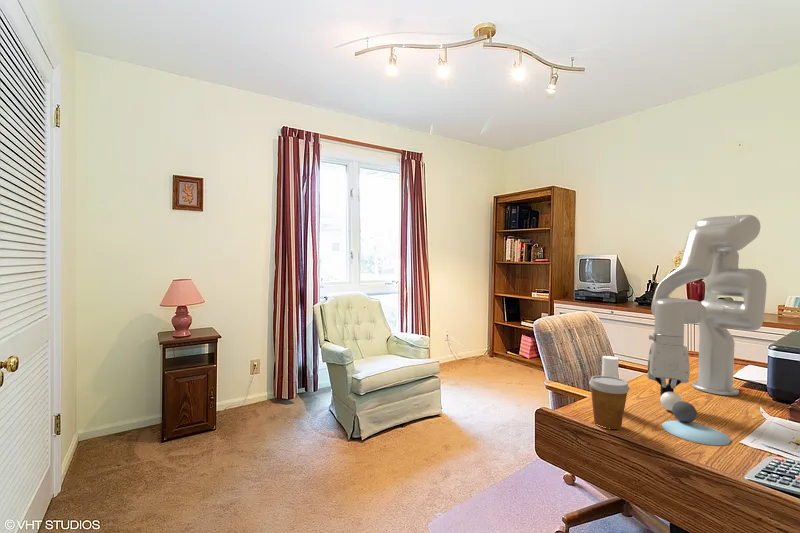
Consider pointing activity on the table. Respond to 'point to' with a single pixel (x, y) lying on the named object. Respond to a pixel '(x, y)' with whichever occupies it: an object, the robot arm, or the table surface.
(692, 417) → the object ball
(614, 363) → the tube
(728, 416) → the table surface
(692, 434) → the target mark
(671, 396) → the cue ball
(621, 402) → the disposable coffee cup
